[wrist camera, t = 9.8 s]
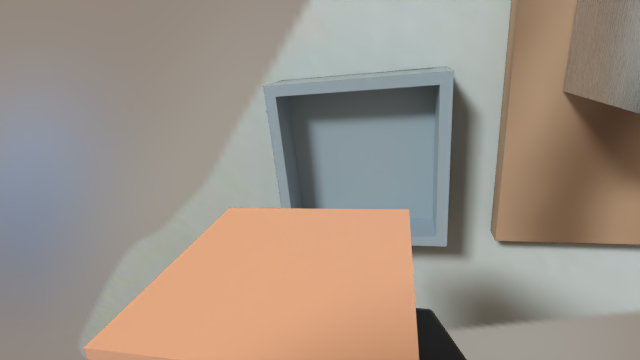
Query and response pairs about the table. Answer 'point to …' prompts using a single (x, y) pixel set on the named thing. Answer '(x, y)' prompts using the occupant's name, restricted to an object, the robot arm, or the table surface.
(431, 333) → the robot arm
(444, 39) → the table surface
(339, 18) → the table surface
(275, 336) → the block
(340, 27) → the table surface
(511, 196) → the rail base
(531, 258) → the table surface
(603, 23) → the block
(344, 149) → the tray
